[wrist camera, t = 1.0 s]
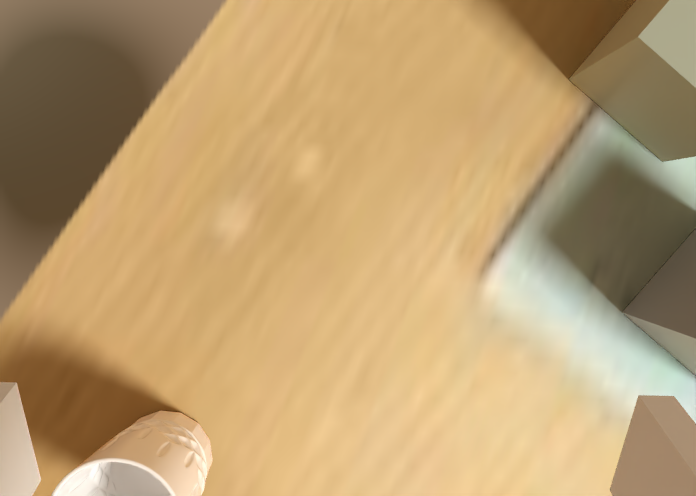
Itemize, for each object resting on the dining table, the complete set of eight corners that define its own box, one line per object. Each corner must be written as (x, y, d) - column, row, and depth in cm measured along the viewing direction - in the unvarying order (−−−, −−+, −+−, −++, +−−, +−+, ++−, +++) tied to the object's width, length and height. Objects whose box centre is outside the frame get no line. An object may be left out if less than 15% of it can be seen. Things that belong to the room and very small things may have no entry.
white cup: (132, 387, 43) (67, 440, 33) (234, 421, 43) (201, 483, 33) (100, 487, 44) (26, 568, 34) (202, 520, 44) (158, 611, 34)
